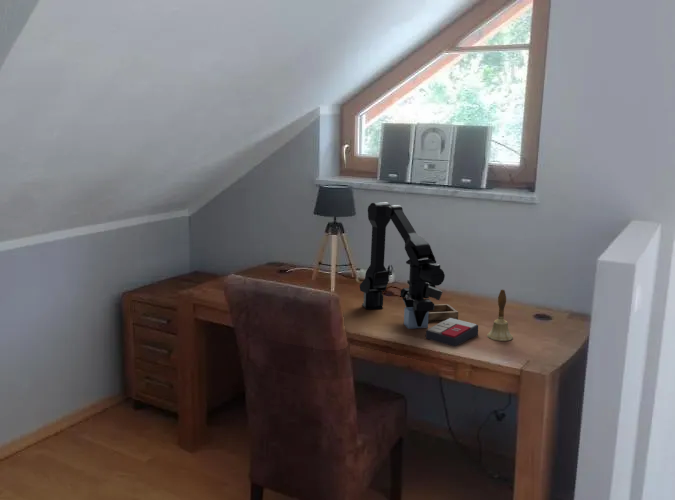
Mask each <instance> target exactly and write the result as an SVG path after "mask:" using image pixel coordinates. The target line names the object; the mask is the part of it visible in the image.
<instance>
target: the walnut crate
mask: <svg viewBox="0 0 675 500" xmlns="http://www.w3.org/2000/svg"><path fill="white" fill-rule="evenodd" d="M449 318H453V319H457V320H459V311H458V310H456V309H455V308H454V307H453V306H452V305H450V304H449V303H440V304H437V303H436V304H435V303H434V310H431V311H429V315H428V323H430V322H442V321H445V320H447V319H449Z"/></svg>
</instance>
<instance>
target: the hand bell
mask: <svg viewBox="0 0 675 500" xmlns="http://www.w3.org/2000/svg"><path fill="white" fill-rule="evenodd" d="M497 303H498V304H497V305H498V315H497V317H498V318H497V319H495V320H493V324H492V328H491V329H490V331H489V332H487V334H486V336H487V338H488V339H490V340H493V341H497V342H508V341H512V340H513V339H514V336H513V334H511V332H510V329H509V322H508V321H507V320H505V318H504V317H505V306H506V303H507V295H506V291H505V289H500V292H499V294H498V297H497Z"/></svg>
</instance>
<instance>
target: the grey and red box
mask: <svg viewBox="0 0 675 500" xmlns="http://www.w3.org/2000/svg"><path fill="white" fill-rule="evenodd" d="M478 334H479V324H476V323H473V322H468V321H465V320H461V319H458V320H457V319H453V318H449V319H447V320H445V321H439V323H436V324H434V325H433V326H431V327H428V328H427V329H426V330H425V339H427V340H430V341H434V342H436V343H441V344H444V345H447V346H452V347H457V346H459V345H460V344H463V343H464V342H467V341H468V340H470V339H473V338H475V337H477V336H479V335H478Z"/></svg>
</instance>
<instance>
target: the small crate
mask: <svg viewBox="0 0 675 500" xmlns="http://www.w3.org/2000/svg"><path fill="white" fill-rule="evenodd" d="M412 308H414V307H406V306H405V307H404V310H403V312H404V313H403V325H404V326H405V327H406V328H407V329H410V330H411V329H429V322H428V315H429V311H428V312H427V313H426V314H425V317H424V320H423V322H422V325H421V327H418V326H417V323H416V319H415V316H414V312H413V309H412Z"/></svg>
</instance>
